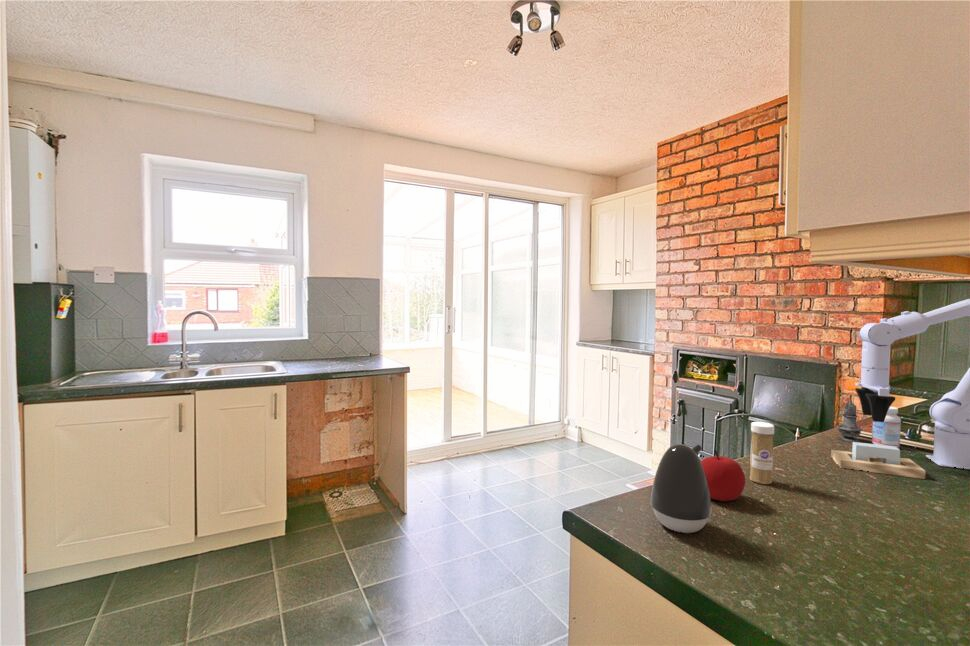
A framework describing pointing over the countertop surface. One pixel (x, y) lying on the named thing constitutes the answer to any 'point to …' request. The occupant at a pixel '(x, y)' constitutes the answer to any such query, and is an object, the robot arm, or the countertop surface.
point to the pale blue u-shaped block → (876, 452)
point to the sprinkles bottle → (761, 452)
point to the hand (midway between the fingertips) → (873, 418)
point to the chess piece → (849, 424)
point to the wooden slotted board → (878, 465)
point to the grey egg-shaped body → (681, 490)
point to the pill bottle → (887, 429)
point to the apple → (723, 477)
